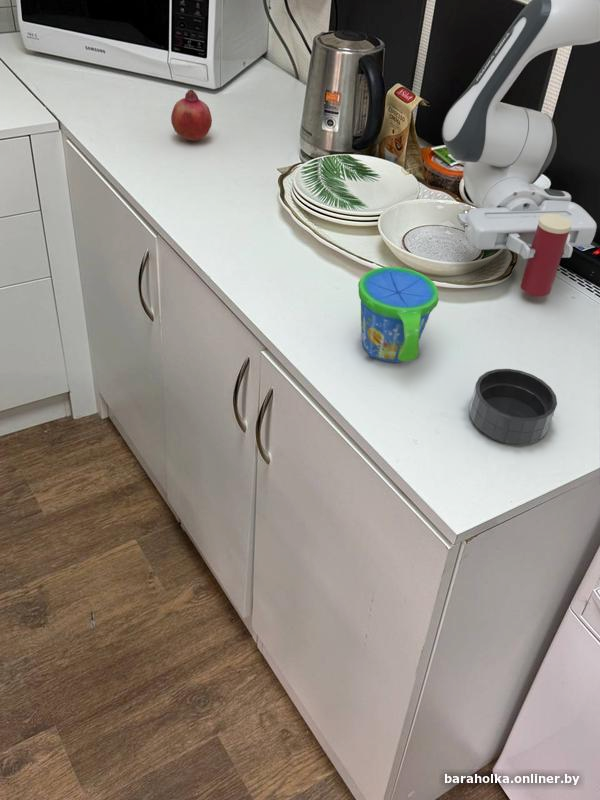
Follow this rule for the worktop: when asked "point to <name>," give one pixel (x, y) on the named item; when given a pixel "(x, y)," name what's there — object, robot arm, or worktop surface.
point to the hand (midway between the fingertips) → (549, 254)
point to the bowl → (512, 406)
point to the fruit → (191, 117)
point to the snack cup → (395, 312)
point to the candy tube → (545, 254)
